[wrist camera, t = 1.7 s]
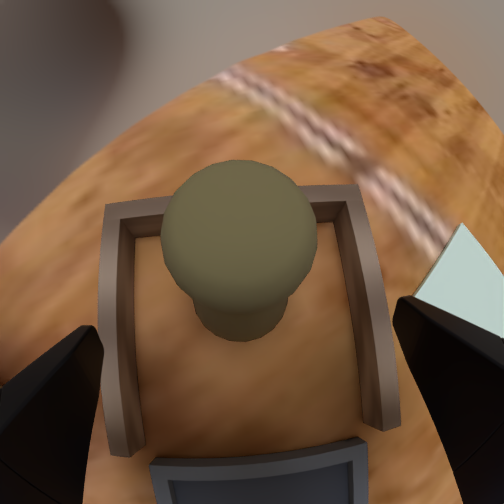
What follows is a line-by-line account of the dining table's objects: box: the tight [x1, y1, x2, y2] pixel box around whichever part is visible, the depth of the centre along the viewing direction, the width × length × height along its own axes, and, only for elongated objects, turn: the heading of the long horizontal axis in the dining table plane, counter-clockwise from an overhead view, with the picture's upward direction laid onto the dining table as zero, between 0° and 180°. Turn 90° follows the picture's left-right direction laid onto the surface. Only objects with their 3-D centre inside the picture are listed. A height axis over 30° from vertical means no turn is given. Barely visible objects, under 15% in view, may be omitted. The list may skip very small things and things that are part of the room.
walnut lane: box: [98, 184, 401, 458], centre depth 17 cm, size 15×16×3 cm
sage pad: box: [413, 223, 504, 338], centre depth 18 cm, size 11×11×1 cm
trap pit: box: [149, 437, 368, 504], centre depth 13 cm, size 7×13×2 cm, turn 96°
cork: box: [161, 160, 317, 342], centre depth 13 cm, size 6×6×11 cm
